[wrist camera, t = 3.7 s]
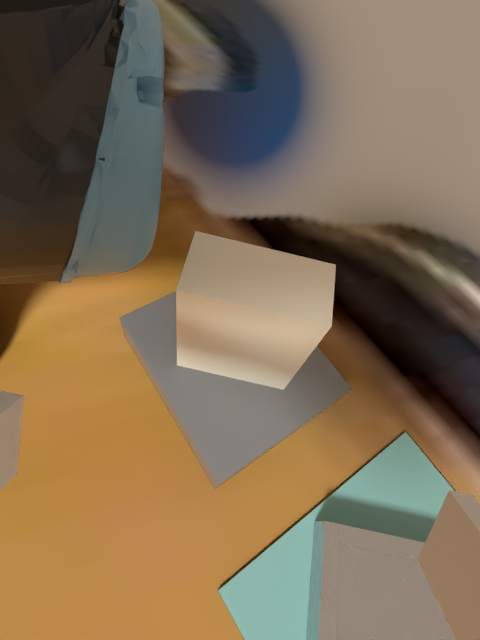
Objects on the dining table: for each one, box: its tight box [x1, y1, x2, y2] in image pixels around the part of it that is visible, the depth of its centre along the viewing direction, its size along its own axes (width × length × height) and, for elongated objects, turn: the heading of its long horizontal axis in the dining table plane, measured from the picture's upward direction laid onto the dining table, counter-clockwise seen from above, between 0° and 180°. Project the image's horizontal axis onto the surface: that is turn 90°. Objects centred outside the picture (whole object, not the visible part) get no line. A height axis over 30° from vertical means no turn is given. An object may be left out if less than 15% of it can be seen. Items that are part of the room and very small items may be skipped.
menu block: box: [176, 231, 336, 390], centre depth 24 cm, size 4×8×10 cm, turn 79°
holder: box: [306, 521, 457, 640], centre depth 23 cm, size 8×12×2 cm
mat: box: [218, 432, 454, 640], centre depth 24 cm, size 18×16×1 cm
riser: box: [120, 292, 352, 489], centre depth 30 cm, size 12×14×3 cm
